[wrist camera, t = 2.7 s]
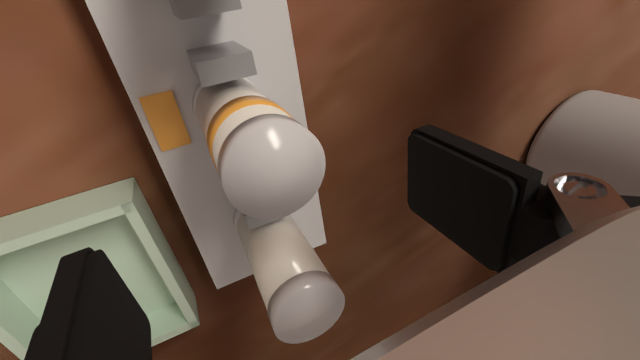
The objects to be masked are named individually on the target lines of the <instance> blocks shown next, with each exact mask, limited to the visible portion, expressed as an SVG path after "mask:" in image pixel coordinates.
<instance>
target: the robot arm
mask: <svg viewBox="0 0 640 360" xmlns="http://www.w3.org/2000/svg"><path fill="white" fill-rule="evenodd" d="M542 175H543V171H540V170H538V169H535V168H533V167H531V166H528V165H526V164H523V163H521V162H519V161H516V160H514V159H511V158H509V157H507V156H504V155H502V154H499V153H497V152H495V151H492V150H490V149H488V148H485V147H483V146H480V145H478V144H476V143H473V142H471V141H468V140H466V139H464V138H461V137H459V136H456V135H454V134H452V133H449V132H447V131H444V130H442V129H440V128H437V127H435V126H432V125H426V126H423V127H420V128H417V129H414V130H413V131H412V133H411V135H410V136H409V138H408V204H409V207H410V208H411V210H412V211H413V212H415V213H416V214H417V215H419V216H420V217H421V218H423V219H424V220H425V221H427V222H428V223H429V224H431V225H432V226H433V227H434V228H436V229H437V230H438V231H440V232H441V233H442V234H444V235H445V236H446V237H448V238H449V239H450V240H452V241H453V242H454V243H455V244H457V245H458V246H459V247H461V248H462V249H463V250H465V251H466V252H467V253H469V254H470V255H471V256H472V257H474V258H475V259H476V260H478V261H479V262H480V263H482V264H483V265H484V266H486V267H487V268H488V269H490V270H495V271H497V272H498V274H496V275H495V276H493V277H491V278H489V279H488V280H486V281H484V282H483V283H481V284H479V285H477V286H476V287H474V288H472V289H470V290H469V291H467V292H465V293H463V294H462V295H460V296H458V297H457V298H455V299H453V300H451V301H450V302H448V303H446V304H445V305H443V306H441V307H439V308H438V309H436V310H434V311H432V312H431V313H429V314H427V315H426V316H424V317H422V318H420V319H419V320H417V321H415V322H414V323H412V324H410V325H408V326H407V327H405V328H403V329H402V330H400V331H398V332H396V333H395V334H393V335H391V336H390V337H388V338H386V339H384V340H383V341H381V342H379V343H378V344H376V345H374V346H372V347H371V348H369V349H367V350H366V351H364V352H362V353H361V354H359V355H357V356H355V357H354V358H352V359H350V360H640V196H626V195H619V194H618V193H617V192H616V190H615V189H614V188H613V187H612V186H611V185H610V184H608V183H607V182H605V181H603V180H602V179H600V178H597V177H594V176H591V175H587V174H582V173H572V172H567V173H559V174H555V175H553V176H551V177H550V178H549V179H548V181H547V185H546V186H545V185H543V184H541V179H542ZM24 360H152V347H151V326H150V322H149V320H148V317H147V316H146V314H145V312H144V311H143V309H142V308H141V306H140V305H139V303H138V302H137V300H136V299H135V297H134V296H133V294H132V293H131V291H130V290H129V288H128V287H127V285H126V284H125V282H124V281H123V279H122V278H121V276H120V275H119V273H118V272H117V270H116V269H115V267H114V266H113V264H112V263H111V261H110V260H109V258H108V257H107V255H106V254H105V253H104V251H103V250H101V249H99V250H96V251H94V250H93V249H92V248H90V247H87V248H85V249H82V250H79V251H76V252H73V253H71V254H68V255H65V256H63V257H61V259H60V261H59V264H58V267H57V271H56V274H55V277H54V280H53V283H52V286H51V290H50V293H49V296H48V299H47V302H46V305H45V308H44V312H43V315H42V318H41V321H40V324H39V325H38V326H37V327H36V328H35V330H34V332H33V334H32V337H31V340H30V343H29V346H28V349H27V352H26V355H25V358H24Z"/></svg>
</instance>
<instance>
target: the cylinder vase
mask: <svg viewBox="0 0 640 360" xmlns="http://www.w3.org/2000/svg"><path fill="white" fill-rule="evenodd" d="M526 165H528V166H531V167H533V168H535V169H538V170H540V171H543V175H542V179H541V184H543V185H545V186H546V185H547V181H548V179H549V178H550V177H551V176H553V175H555V174H559V173H567V172H572V173H582V174H587V175H591V176H594V177H597V178H600V179H602V180H603V181H605V182H607V183H608V184H610V185H611V186H612V187H613V188H614V189H615V190H616V192H617V193H618V194H619V195H626V196H640V99H635V98H631V97H626V96H621V95H617V94H612V93H607V92H602V91H598V90H588V91H583V92H580V93H578V94H576V95H574V96H572V97H570V98H569V99H567V100H566V101H564V102H563V103H562V104H561V105H559V106H558V107H557V108H556V109H555V110H554V111H553V112H552V113H551V114H550V116H549V117H548V118H547V119H546V121H545V122H544V123H543V125H542V126H541V128H540V129H539V131H538V132H537V134H536V136H535V138H534V140H533V142H532V144H531V146H530V149H529V152H528V155H527V159H526Z"/></svg>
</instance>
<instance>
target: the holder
mask: <svg viewBox="0 0 640 360" xmlns="http://www.w3.org/2000/svg"><path fill="white" fill-rule="evenodd" d="M85 2H86V4H87V7H88V9H89V11H90V13H91V15H92V17H93V20H94V22H95V24H96V26H97V28H98V31H99V33H100V35H101V37H102V39H103V41H104V44H105V46H106V48H107V50H108V52H109V55H110V57H111V59H112V61H113V63H114V65H115V68H116V70H117V72H118V74H119V76H120V79H121V81H122V83H123V85H124V87H125V90H126V92H127V94H128V96H129V98H130V100H131V103H132V105H133V107H134V109H135V111H136V114H137V116H138V118H139V120H140V122H141V124H142V127H143V129H144V131H145V133H146V135H147V138H148V140H149V142H150V144H151V146H152V148H153V151H154V153H155V155H156V157H157V159H158V162H159V164H160V166H161V168H162V170H163V172H164V175H165V177H166V179H167V181H168V183H169V186H170V188H171V190H172V192H173V194H174V197H175V199H176V201H177V203H178V205H179V207H180V210H181V212H182V214H183V216H184V218H185V221H186V223H187V225H188V227H189V229H190V231H191V234H192V236H193V238H194V240H195V242H196V245H197V247H198V249H199V251H200V253H201V255H202V258H203V260H204V262H205V264H206V266H207V269H208V271H209V273H210V275H211V277H212V280H213V282H214V284H215V286H216V288H217V289H220V288H222V287H224V286H227V285H229V284H231V283H234V282H236V281H238V280H241V279H243V278H245V277H248V276H250V275H252V274H253V272H252V269H251V267H250V264H249V262H248V259H247V256H246V254H245V251H244V248H243V246H242V243H241V240H240V238H239V236H238V235H237V232H236V230H235V227H234V224H233V213H234V211H235V207H234V206H233V205H232V204H231V203H230V201H229V200H228V198H227V196H226V194H225V191H224V189H223V186H222V184H221V181H220V179H219V175H218V171H217V169H216V168H215V166H214V163H213V161H212V158H211V156H210V153H209V150H208V147H207V142H206V140H205V137H204V135H203V132H202V130H201V128H200V126H199V124H198V122H197V120H196V118H195V115H194V112H193V107H192V99H193V94H194V91H195V89H196V87H197V86H198V84H199V83H200V84H201V86H202V87H203V88H204V87H208V86H212V85H216V84H220V83H224V82H228V81H233V80H237V79H241V78H245V77H246V78H247V79H248V80H249V81H251V82H252V83H253V84H254V85H255V86H256V87H257V89H258V90H260V91H261V92H262V93H263V94H264V95H266V96H267V97H268V98H269V99H270V100H272V101H274V102H275V103H276V104H278V105H279V106H280V107H281V108H283V109H284V110H285V111H286V112H287V113H288V114H289V115H291V116H292V118H293V119H295V120H296V121H298V122H299V123H300V124H302V125H303V126H304V127H305V128H306V129H308V128H307V122H306V116H305V110H304V104H303V98H302V92H301V86H300V80H299V73H298V67H297V61H296V55H295V49H294V43H293V37H292V31H291V25H290V19H289V13H288V7H287V0H85ZM242 214H243V213H242ZM289 215H290V214H289ZM287 216H288V215H287ZM291 216H292V217H293V219H294V220H295V222H296V224H297V225H298V227H299V228H300V230H301V231H302V233H303V234H304V236H305V237H306V239H307V240H308V242H309V243H310V245H311V247H312V248H315V247H318V246H320V245H322V244H325V243H326V238H325V232H324V226H323V219H322V213H321V207H320V201H319V195H318V191H317V192H316V194H315V195H314V196H313V197H312V199H311V200H310V201H309V202H308V203H307V204H305V205H304V206H303V207H302V208H300V209H299V210H297V211H295V212H294V213H292V214H291ZM243 217H244V219H245V221H246V223H247V226H248V228H249V230H252V229H255V228H257V227H260V226H263V225H265V224H268V223H270V222H273V221H275V220H278V219H281V218H283V217H281V218H276V219H256V218H252V217H249V216H247V215H245V214H243ZM284 217H286V216H284Z"/></svg>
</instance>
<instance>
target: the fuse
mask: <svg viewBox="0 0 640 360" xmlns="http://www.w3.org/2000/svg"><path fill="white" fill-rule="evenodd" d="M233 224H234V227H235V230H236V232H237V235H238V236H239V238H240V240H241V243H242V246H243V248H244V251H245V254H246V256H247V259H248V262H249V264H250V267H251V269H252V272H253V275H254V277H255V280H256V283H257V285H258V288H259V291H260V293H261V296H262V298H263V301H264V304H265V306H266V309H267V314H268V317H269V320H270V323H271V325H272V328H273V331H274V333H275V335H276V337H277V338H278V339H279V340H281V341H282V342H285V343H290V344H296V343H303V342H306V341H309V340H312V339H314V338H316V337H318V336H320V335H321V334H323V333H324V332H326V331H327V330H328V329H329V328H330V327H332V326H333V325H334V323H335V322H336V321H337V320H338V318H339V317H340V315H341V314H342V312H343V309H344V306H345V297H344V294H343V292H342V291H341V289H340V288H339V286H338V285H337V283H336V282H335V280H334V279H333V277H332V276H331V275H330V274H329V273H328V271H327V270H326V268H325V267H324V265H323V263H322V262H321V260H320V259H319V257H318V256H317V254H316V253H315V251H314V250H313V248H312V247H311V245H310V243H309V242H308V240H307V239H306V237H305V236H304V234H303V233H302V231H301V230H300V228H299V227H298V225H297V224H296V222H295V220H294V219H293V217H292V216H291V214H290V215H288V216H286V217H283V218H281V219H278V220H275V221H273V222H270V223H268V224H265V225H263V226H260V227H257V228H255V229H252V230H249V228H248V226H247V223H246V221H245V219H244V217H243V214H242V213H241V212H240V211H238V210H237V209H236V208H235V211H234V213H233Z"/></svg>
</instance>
